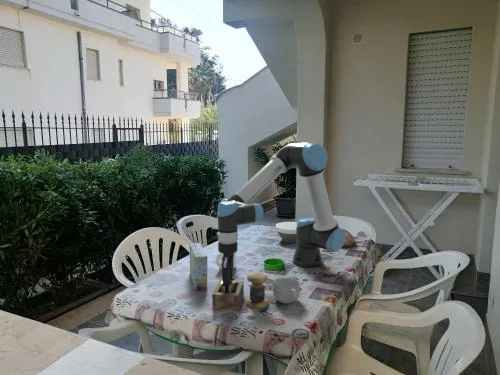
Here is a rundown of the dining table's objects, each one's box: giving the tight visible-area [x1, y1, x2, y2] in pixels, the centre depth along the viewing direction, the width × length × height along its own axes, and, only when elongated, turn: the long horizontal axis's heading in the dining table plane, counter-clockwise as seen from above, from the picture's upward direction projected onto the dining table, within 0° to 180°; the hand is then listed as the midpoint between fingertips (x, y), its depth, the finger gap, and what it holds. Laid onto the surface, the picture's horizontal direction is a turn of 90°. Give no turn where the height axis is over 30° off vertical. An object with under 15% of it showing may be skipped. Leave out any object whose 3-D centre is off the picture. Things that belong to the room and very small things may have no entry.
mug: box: [215, 251, 237, 270], centre depth 181 cm, size 12×8×10 cm
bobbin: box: [245, 272, 270, 310], centre depth 143 cm, size 9×9×11 cm
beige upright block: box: [221, 280, 236, 293], centre depth 145 cm, size 5×3×9 cm, turn 82°
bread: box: [341, 228, 357, 248], centre depth 222 cm, size 16×20×10 cm
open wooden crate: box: [211, 279, 245, 312], centre depth 145 cm, size 10×14×6 cm
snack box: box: [189, 242, 208, 291], centre depth 165 cm, size 21×6×15 cm, turn 17°
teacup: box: [272, 276, 302, 305], centre depth 144 cm, size 14×11×8 cm
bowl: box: [275, 221, 297, 244], centre depth 228 cm, size 20×20×10 cm
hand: (228, 298), depth 145 cm, fingers closed on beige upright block, 3 cm apart
